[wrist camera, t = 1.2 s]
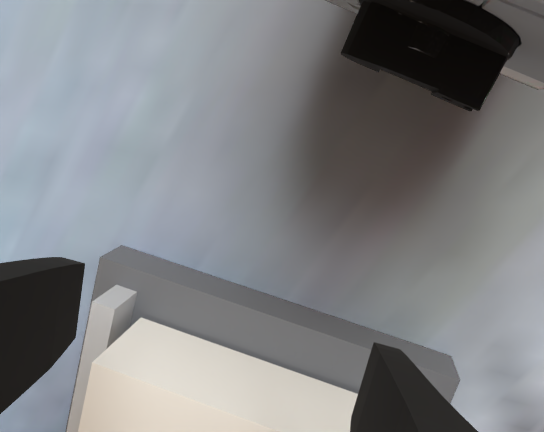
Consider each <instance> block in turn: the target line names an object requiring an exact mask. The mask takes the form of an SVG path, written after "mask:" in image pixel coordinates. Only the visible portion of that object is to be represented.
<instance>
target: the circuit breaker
mask: <svg viewBox="0 0 544 432" xmlns="http://www.w3.org/2000/svg"><path fill="white" fill-rule="evenodd" d="M326 1H328V2H330V3H333V4H335V5H338V6H340V7H342V8H345V9H347V10H350V11H352V12H354V13H357V16H356V18H355V21H354V23H353V26H352V28H351V30H350V33H349V35H348V37H347V40H346V42H345V44H344V47H343V49H342V52H341V55H343V56H345V57H346V58H348V59H350V60H352V61H354V62H357V63H359V64H361V65H363V66H366V67H368V68H370V69H373V70H375V71H377V72H379V71H380V69H381V70H384V71H386V72H388V73H391V74H393V75H395V76H398V77H400V78H402V79H405V80H407V81H409V82H412V83H414V84H416V85H419V86H421V87H423V88H426V89H428V90H430V91H432V93H431V95H433V96H436V97H438V98H440V99H443V100H445V101H447V102H450V103H452V104H454V105H457V106H459V107H461V108H464V109H466V110H468V111H472V109H475V110H477V111H479V110H480V108H481V107H482V105H483V103H484V101H485V99H486V98H487V96H488V94H489V92H490V90H491V88H492V87H493V85H494V83H495V81H496V79H497V77H498V76H499V74H502V75H504V76H506V77H509V78H511V79H514V80H516V81H518V82H521V83H523V84H525V85H528V86H530V87H533V88H535V89H537V90H538V89H544V0H326Z"/></svg>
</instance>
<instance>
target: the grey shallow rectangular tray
mask: <svg viewBox="0 0 544 432" xmlns="http://www.w3.org/2000/svg"><path fill="white" fill-rule="evenodd" d="M140 318H144V319H147V320H150V321H153V322H156V323H158V324H161V325H164V326H167V327H170V328H173V329H175V330H178V331H181V332H184V333H187V334H190V335H192V336H195V337H198V338H201V339H204V340H207V341H209V342H212V343H215V344H218V345H221V346H224V347H226V348H229V349H232V350H235V351H238V352H241V353H243V354H246V355H249V356H252V357H255V358H258V359H260V360H263V361H266V362H269V363H272V364H275V365H277V366H280V367H283V368H286V369H289V370H291V371H294V372H297V373H300V374H303V375H306V376H308V377H311V378H314V379H317V380H320V381H323V382H325V383H328V384H331V385H334V386H337V387H340V388H342V389H345V390H348V391H351V392H354V393H357V394H358V392H359V389H360V386H361V383H362V379H363V376H364V373H365V369H366V366H367V363H368V359H369V356H370V353H371V349H372V346H373V343H374V342H376V343H379V344H383V345H387V346H390V347H394V348H398V349H400V350H401V351H403V352H404V353H405V354H406V355H407V356H408V358H409V359H410V360H411V361H412V362H413V363H414V364H415V365H416V367H417V368H418V369H419V370H420V371H421V372H422V373H423V375H424V376H425V377H426V378H427V379H428V380H429V381H430V383H431V384H432V385H433V386H434V387H435V388H436V389H437V390H438V392H439V393H440V394H441V395H442V396H443V397H444V398H445V399H446V400H447V401H448V402H449V403H451V400H452V398H453V396H454V393H455V391H456V389H457V386H458V384H459V382H460V378H459V376H458V373H457V370H456V368H455V365H454V363H453V360H452V357H451V356H449V355H446V354H443V353H440V352H437V351H434V350H431V349H428V348H425V347H422V346H419V345H417V344H414V343H411V342H408V341H405V340H402V339H399V338H396V337H393V336H390V335H387V334H384V333H381V332H378V331H375V330H372V329H369V328H366V327H363V326H360V325H357V324H354V323H351V322H348V321H345V320H342V319H339V318H336V317H333V316H330V315H327V314H324V313H321V312H318V311H316V310H313V309H310V308H307V307H304V306H301V305H298V304H295V303H292V302H289V301H286V300H283V299H280V298H277V297H274V296H271V295H268V294H265V293H262V292H259V291H256V290H253V289H250V288H247V287H244V286H241V285H238V284H235V283H232V282H229V281H226V280H223V279H220V278H217V277H215V276H212V275H209V274H206V273H203V272H200V271H197V270H194V269H191V268H188V267H185V266H182V265H179V264H176V263H173V262H170V261H167V260H164V259H161V258H158V257H155V256H152V255H149V254H146V253H143V252H140V251H137V250H134V249H131V248H128V247H125V246H122V245H121V246H120V247H118V248H116V249H114V250H112V251H110V252H109V253H107V254H105V255H103V256H101V257H100V260H99V265H98V270H97V275H96V280H95V285H94V290H93V295H92V300H91V305H90V311H89V316H88V321H87V326H86V331H85V336H84V341H83V346H82V351H81V356H80V361H79V366H78V371H77V376H76V381H75V387H74V392H73V397H72V402H71V407H70V412H69V417H68V422H67V427H66V432H78V429H79V424H80V419H81V414H82V409H83V405H84V400H85V395H86V390H87V385H88V380H89V375H90V370H91V365H92V362H93V361H94V360H95V359H96V358H97V357H99V356H100V355H101V354H102V353H103V352H104V351H105V350H106V349H107V348H108V347H109V346H110V345H112V344H113V343H114V342H115V341H116V340H117V339H118V338H119V337H120V336H121V335H122V334H123V333H125V332H126V331H127V330H128V329H129V328H130V327H131V326H132V325H133V324H134V323H135V322H137V321H138V320H139V319H140Z"/></svg>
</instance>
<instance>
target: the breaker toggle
mask: <svg viewBox="0 0 544 432" xmlns="http://www.w3.org/2000/svg"><path fill="white" fill-rule="evenodd" d="M357 396H358V394H357V393H354V392H351V391H348V390H345V389H342V388H340V387H337V386H334V385H331V384H328V383H325V382H323V381H320V380H317V379H314V378H311V377H308V376H306V375H303V374H300V373H297V372H294V371H291V370H289V369H286V368H283V367H280V366H277V365H275V364H272V363H269V362H266V361H263V360H260V359H258V358H255V357H252V356H249V355H246V354H243V353H241V352H238V351H235V350H232V349H229V348H226V347H224V346H221V345H218V344H215V343H212V342H209V341H207V340H204V339H201V338H198V337H195V336H192V335H190V334H187V333H184V332H181V331H178V330H175V329H173V328H170V327H167V326H164V325H161V324H158V323H156V322H153V321H150V320H147V319H144V318H140V319H139V320H138V321H137V322H135V323H134V324H133V325H132V326H131V327H130V328H129V329H128V330H127V331H126V332H125V333H123V334H122V335H121V336H120V337H119V338H118V339H117V340H116V341H115V342H114V343H113V344H112V345H110V346H109V347H108V348H107V349H106V350H105V351H104V352H103V353H102V354H101V355H100V356H99V357H97V358H96V359H95V360H94V361H93V362H92V365H91V370H90V375H89V380H88V385H87V390H86V395H85V400H84V405H83V409H82V414H81V419H80V424H79V429H78V432H350V425H351V416H352V412H353V409H354V406H355V402H356V399H357Z"/></svg>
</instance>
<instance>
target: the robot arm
mask: <svg viewBox="0 0 544 432" xmlns="http://www.w3.org/2000/svg"><path fill="white" fill-rule="evenodd" d="M84 268H85V263H81V262H77V261H73V260H70V259H66V258H62V257H49V258H37V259H28V260H21V261H13V262H6V263H0V414H1V413H2V412H3V411H4V410H5V409H6V408H8V407H9V406H10V405H11V404H12V403H13V402H14V401H15V400H16V399H18V398H19V397H20V396H21V395H22V394H23V393H24V392H25V391H26V390H27V389H29V388H30V387H31V386H32V385H33V384H34V383H35V382H36V381H37V380H38V379H39V378H40V377H42V376H43V375H44V374H45V373H46V372H47V371H48V370H49V369H50V368H51V367H52V366H53V365H54V363H55V362H56V361H57V360H58V359H59V358H60V356H61V355H62V354H63V353H64V351H65V350H66V349H67V348H68V346H69V345H70V344H71V343H72V341H73V340H74V339H75V337H76V330H77V322H78V314H79V306H80V299H81V291H82V283H83V275H84ZM350 432H478V431H477V430H476V429H475V428H474V427H473V426H472V425H471V424H470V423H469V422H467V421H466V420H465V419H464V418H463V417H462V416H461V415H460V414H459V413H458V412H457V411H456V410H455V409H454V408H453V407H452V405H451V404H450V403H449V402H448V401H447V400H446V399H445V398H444V397H443V396H442V395H441V394H440V393H439V392H438V390H437V389H436V388H435V387H434V386H433V385H432V384H431V383H430V381H429V380H428V379H427V378H426V377H425V376H424V375H423V373H422V372H421V371H420V370H419V369H418V368H417V367H416V365H415V364H414V363H413V362H412V361H411V360H410V359H409V358H408V356H407V355H406V354H405V353H404V352H403V351H401V350H400V349H398V348H394V347H390V346H387V345H383V344H379V343H376V342H374V343H373V346H372V349H371V353H370V356H369V359H368V363H367V366H366V369H365V373H364V376H363V379H362V383H361V386H360V389H359V392H358V396H357V399H356V402H355V406H354V409H353V412H352V416H351V425H350Z"/></svg>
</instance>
